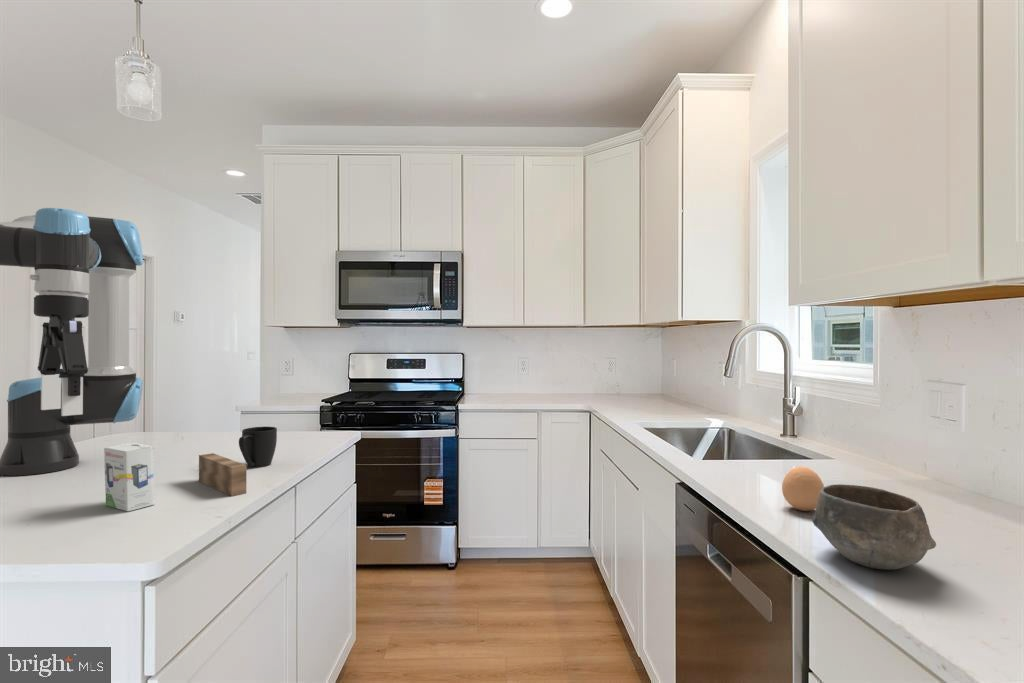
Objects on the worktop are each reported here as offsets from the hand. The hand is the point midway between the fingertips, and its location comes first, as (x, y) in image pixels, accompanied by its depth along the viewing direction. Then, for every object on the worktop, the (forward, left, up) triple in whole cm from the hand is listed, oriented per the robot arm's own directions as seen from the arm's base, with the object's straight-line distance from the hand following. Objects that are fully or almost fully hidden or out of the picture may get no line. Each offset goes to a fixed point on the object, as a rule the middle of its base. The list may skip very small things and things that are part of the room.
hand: (61, 412), depth 93 cm
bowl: (+115, +74, -20) cm, 138 cm away
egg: (+103, +94, -20) cm, 141 cm away
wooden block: (0, +27, -20) cm, 34 cm away
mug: (-13, +40, -20) cm, 47 cm away
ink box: (0, +10, -20) cm, 22 cm away
